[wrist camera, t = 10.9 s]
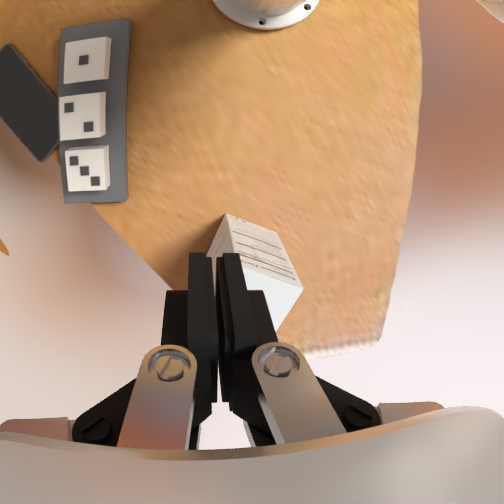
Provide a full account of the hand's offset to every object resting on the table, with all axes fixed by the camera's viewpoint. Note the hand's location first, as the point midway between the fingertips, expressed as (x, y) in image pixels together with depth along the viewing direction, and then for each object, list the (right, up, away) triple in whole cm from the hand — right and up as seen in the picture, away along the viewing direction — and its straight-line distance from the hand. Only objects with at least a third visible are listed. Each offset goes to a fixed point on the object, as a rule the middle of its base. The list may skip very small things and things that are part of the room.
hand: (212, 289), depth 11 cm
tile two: (-16, +16, +17) cm, 28 cm away
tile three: (-17, +11, +21) cm, 29 cm away
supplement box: (0, +2, +31) cm, 31 cm away
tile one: (-16, +21, +15) cm, 30 cm away
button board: (-16, +17, +19) cm, 30 cm away
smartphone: (-26, +20, +17) cm, 36 cm away
